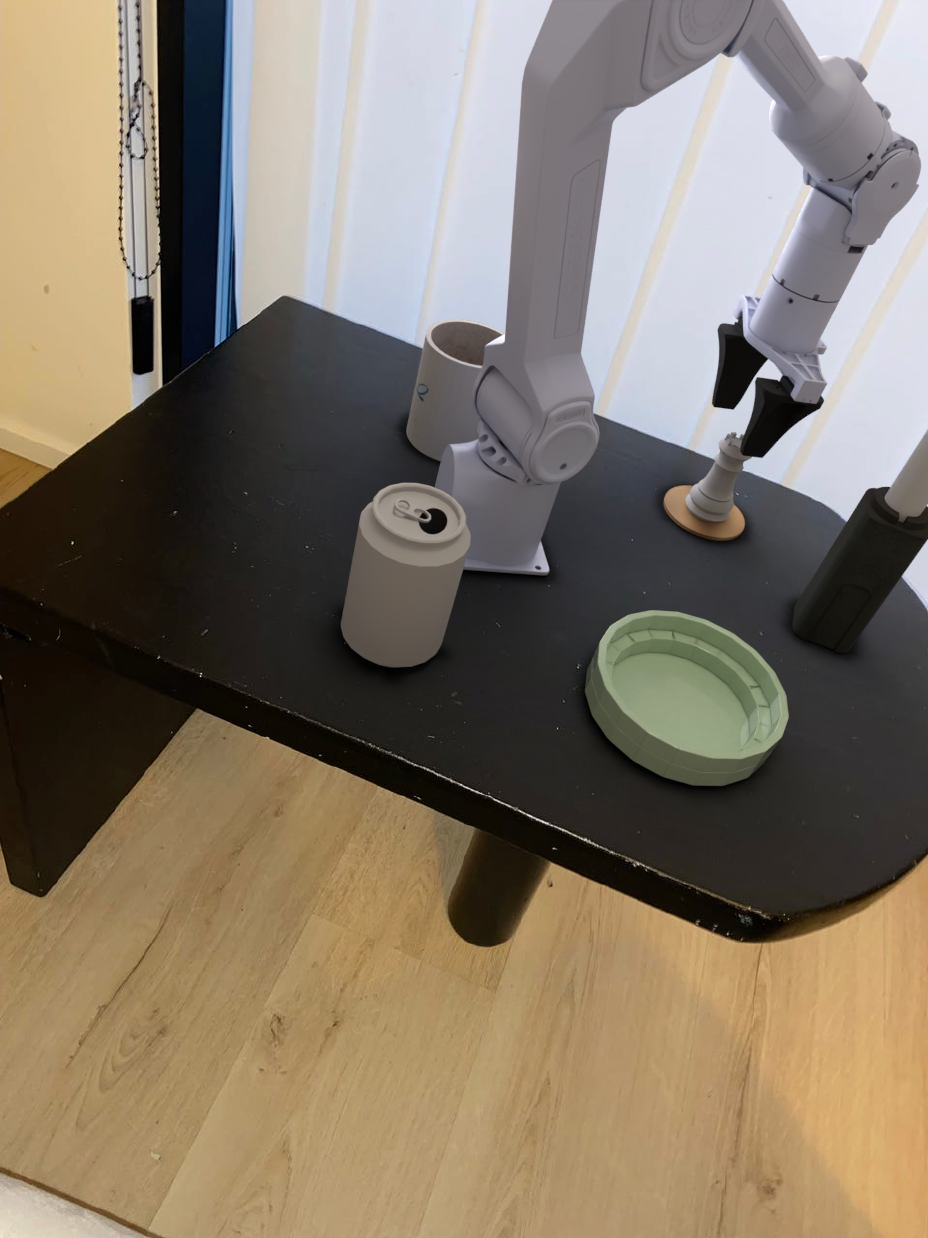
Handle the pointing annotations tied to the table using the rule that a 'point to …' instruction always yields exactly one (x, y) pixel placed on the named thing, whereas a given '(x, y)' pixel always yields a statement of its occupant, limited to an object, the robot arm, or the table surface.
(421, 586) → the can
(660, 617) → the dish
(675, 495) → the coaster
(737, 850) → the table surface
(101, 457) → the table surface
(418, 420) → the mug
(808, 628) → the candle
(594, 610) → the table surface
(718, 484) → the rook chess piece
